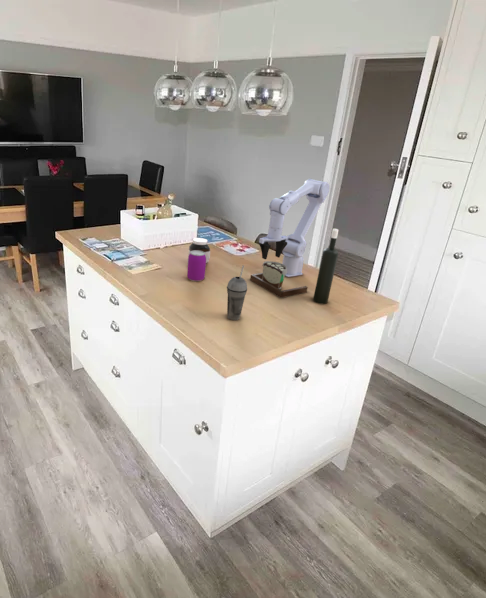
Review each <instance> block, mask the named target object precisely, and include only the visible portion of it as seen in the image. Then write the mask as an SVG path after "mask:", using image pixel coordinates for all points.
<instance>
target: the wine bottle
mask: <svg viewBox="0 0 486 598" xmlns="http://www.w3.org/2000/svg"><path fill="white" fill-rule="evenodd" d="M339 231H340V230H339V228H332V230H331V235H330V241H329V246H328V247H326V248H324V249H323V251H322V253H321V254H322V255H321V259H320V265H319V269H318V274H317V280H316V284H315V288H314V293H313V298H312V301H313V302H314V303H317V304H320V305H326V304H328V302H329V298H330V294H331V289H332V285H333V279H334V277H335V276H334V275H335V271H336V267H337V261H338V257H339V251H338V249H336V244H337V243H336V242H337V239H338V235H339Z"/></svg>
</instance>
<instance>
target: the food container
mask: <svg viewBox="0 0 486 598" xmlns="http://www.w3.org/2000/svg"><path fill="white" fill-rule="evenodd" d="M261 266H262V273H263V279H262V280H264V281H266V282H267V283H269V284H271V285H273V286H274V287H276V288H278V289H280V290H281V291H282V288H283V287H282V286H283V284H284V280H285V277H286V276H285V274H287V267H286V266H285V265H284V264H282V262H279V261H278V262H277V261H271V260H270V261H269V260H266V261H263V262H262V265H261Z"/></svg>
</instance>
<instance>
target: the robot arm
mask: <svg viewBox="0 0 486 598" xmlns="http://www.w3.org/2000/svg"><path fill="white" fill-rule="evenodd" d="M329 193H330V183H329V182H328V181H323V180H317V179H313V178H307V179H306V180H304V183H303V185H301V186H300V187H299V188H297V189H296V190H290V189H289V190H288V192H287V193H285V194H283V195H281V196H280V197H278V198H277V197H274V198H273V199H272V200H271V201H270V203H269V205H268V210H269V216H270V219H269V223H268V231H267V234H266V236H263V237H259V240H258V245H259V247H260V250H261V251H260V252H261V258H262V259H263V260H268V259H267V258H268V255H269V250H270V248H271V246H272V245H271V244H269V243H274V242H275V253H274V254H275V256H274V257H276V258H280V257H281V255H283V256H282V262H281V264H284V265H285V266H286V267H287V274H285V276H284V277H286V278H292V277H297V276H303V275H304V273H303V268H304V262H305V260H304V257H303V255H304V254H305V252H306V247H307V246H308V243H307V241H306V239H305V237H306V235H307V233H308V231H309V229H310V227H311V225H312V224H313V222H314V220H315V218H316V216H317V214H318V212H319V210H320V208H321V206H322V204H323V203H324V202H325V200H326V198H327V196H328V195H329ZM303 197H306V199H307V200H308V204H307V206H306V208H305V210H304V211H303V214H302V216H301V217H300V219H299V221H298V223H297V226H296V227H295V230H294V231H293V232H292V233H290V234H288V235H282V234H283V228H284V222H285V216H286V214H287V213H288V212H289V210H290V209H291V208H292V207H293V206H294V205H296V204H297V203H299V200H300V199H301V198H303Z"/></svg>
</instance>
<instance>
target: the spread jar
mask: <svg viewBox="0 0 486 598" xmlns="http://www.w3.org/2000/svg"><path fill="white" fill-rule="evenodd" d="M194 250H199V251H203V252H205V256H206V265H207V264H208V263H209V262H210V258H211V248H210V246H209V244H208V239H207V238H203V237H195V238H193V239H192V243H191V244H190V245H189V246H188V252H187V254H188V255H187V257H188V256H189V254H190V252H191V251H194Z"/></svg>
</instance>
